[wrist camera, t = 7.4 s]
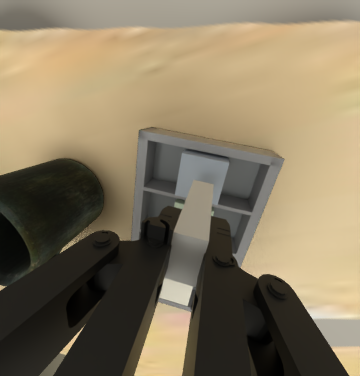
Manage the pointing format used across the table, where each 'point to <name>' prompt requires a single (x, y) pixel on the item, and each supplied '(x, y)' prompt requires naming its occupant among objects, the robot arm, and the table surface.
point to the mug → (43, 213)
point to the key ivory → (176, 292)
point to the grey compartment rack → (231, 191)
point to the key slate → (201, 172)
